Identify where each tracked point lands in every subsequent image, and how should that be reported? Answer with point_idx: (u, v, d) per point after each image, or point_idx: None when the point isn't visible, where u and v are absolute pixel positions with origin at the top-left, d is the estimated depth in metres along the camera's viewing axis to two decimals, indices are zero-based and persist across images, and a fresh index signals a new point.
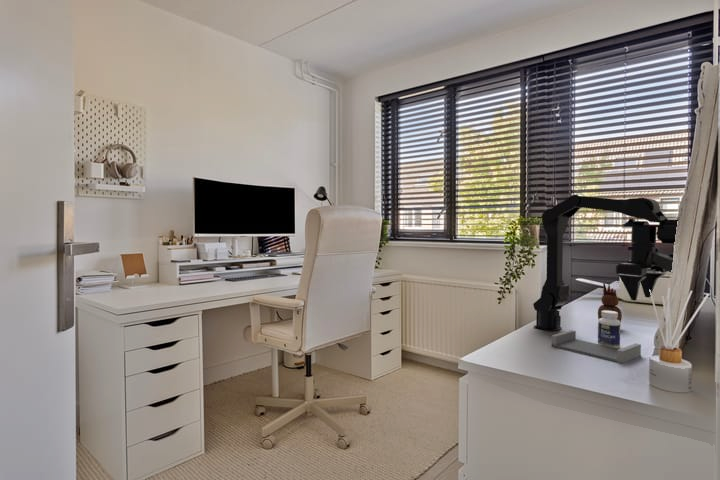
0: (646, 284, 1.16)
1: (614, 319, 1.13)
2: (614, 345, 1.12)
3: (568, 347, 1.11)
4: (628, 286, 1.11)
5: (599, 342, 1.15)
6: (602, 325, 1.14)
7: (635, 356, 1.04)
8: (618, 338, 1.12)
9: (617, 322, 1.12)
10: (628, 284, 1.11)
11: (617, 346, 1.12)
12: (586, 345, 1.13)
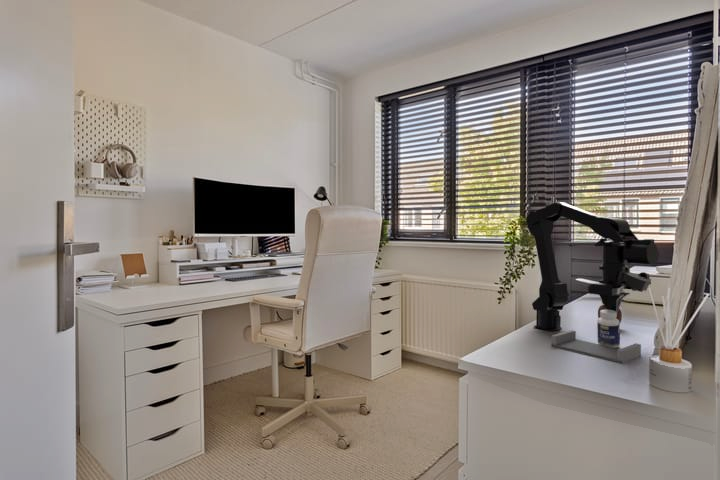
0: None
1: (613, 319, 1.12)
2: (614, 345, 1.12)
3: (568, 347, 1.11)
4: (607, 304, 1.16)
5: (599, 342, 1.15)
6: (601, 325, 1.13)
7: (635, 356, 1.04)
8: (618, 337, 1.12)
9: (616, 322, 1.12)
10: (607, 302, 1.15)
11: (617, 345, 1.12)
12: (586, 345, 1.13)
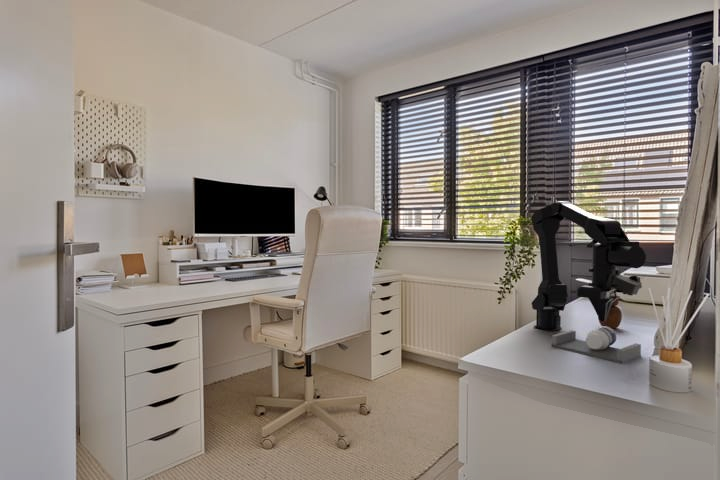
0: None
1: (602, 345, 1.07)
2: None
3: (568, 347, 1.11)
4: (596, 307, 1.12)
5: None
6: None
7: (635, 356, 1.04)
8: (612, 342, 1.09)
9: (606, 345, 1.07)
10: (596, 305, 1.12)
11: None
12: (586, 345, 1.13)
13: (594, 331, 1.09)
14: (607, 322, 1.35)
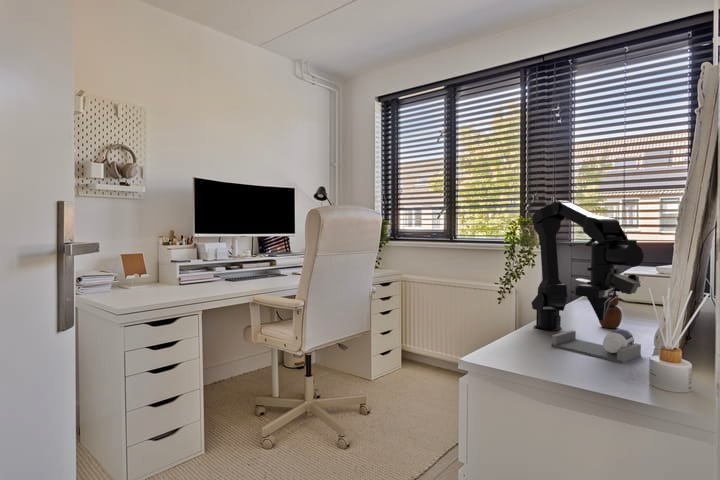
0: None
1: None
2: None
3: (568, 347, 1.11)
4: (595, 306, 1.12)
5: None
6: (605, 337, 1.08)
7: (635, 356, 1.04)
8: None
9: None
10: (595, 304, 1.11)
11: None
12: (586, 345, 1.13)
13: (624, 342, 1.04)
14: (607, 322, 1.35)
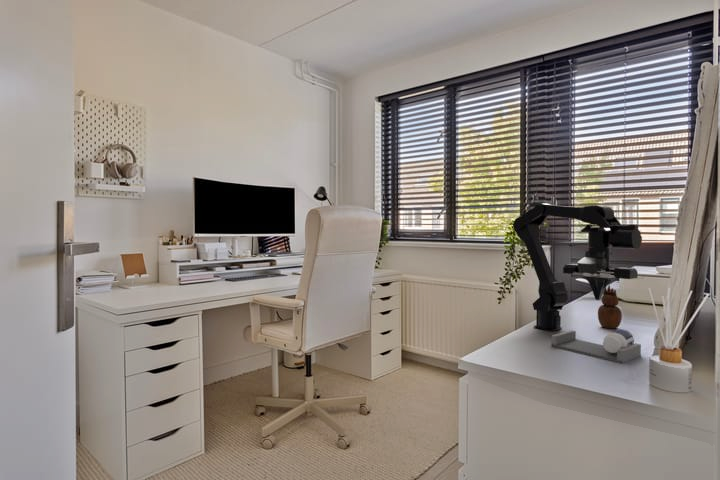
0: None
1: None
2: None
3: (568, 347, 1.11)
4: None
5: None
6: (605, 337, 1.08)
7: (635, 356, 1.04)
8: None
9: None
10: None
11: None
12: (586, 345, 1.13)
13: (624, 342, 1.04)
14: (607, 322, 1.35)
